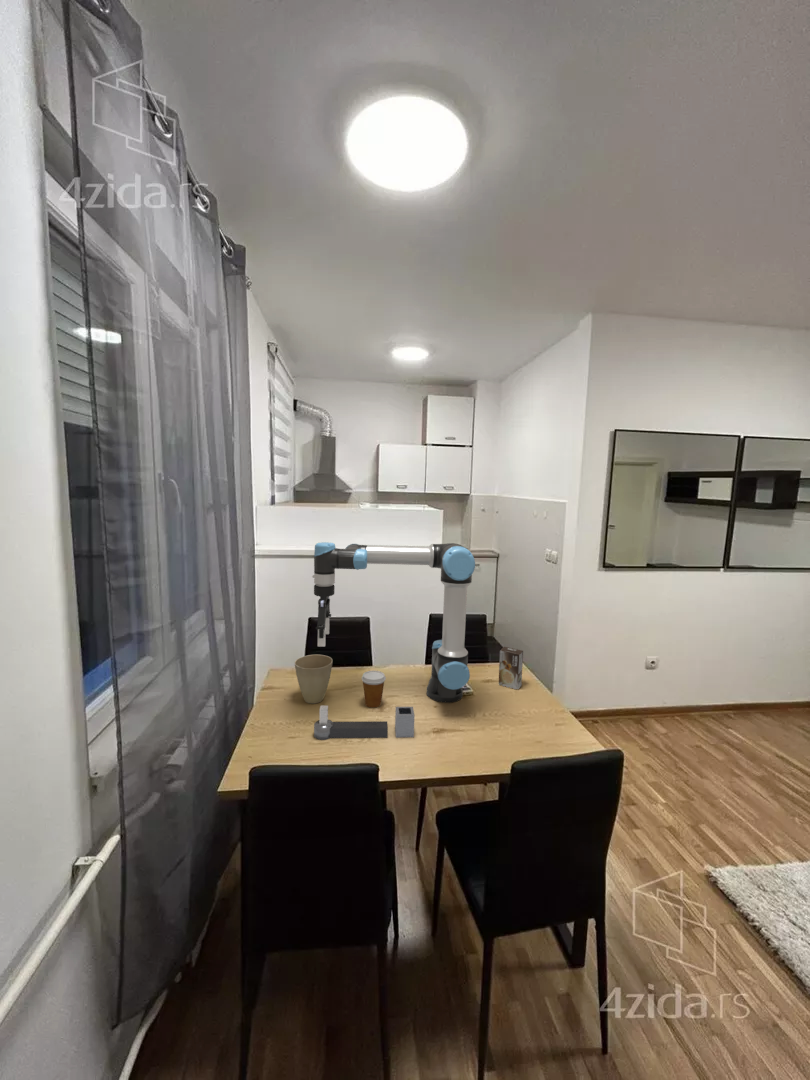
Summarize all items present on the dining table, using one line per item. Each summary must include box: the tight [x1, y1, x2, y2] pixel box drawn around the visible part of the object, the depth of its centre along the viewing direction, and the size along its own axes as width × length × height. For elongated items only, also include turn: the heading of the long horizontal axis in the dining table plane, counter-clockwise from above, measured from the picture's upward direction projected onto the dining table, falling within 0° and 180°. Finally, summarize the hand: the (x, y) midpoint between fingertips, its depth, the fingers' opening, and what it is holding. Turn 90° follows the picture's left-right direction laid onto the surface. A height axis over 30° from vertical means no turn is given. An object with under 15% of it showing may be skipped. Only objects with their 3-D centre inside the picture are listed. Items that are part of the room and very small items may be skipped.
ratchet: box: [313, 705, 389, 741], centre depth 151 cm, size 25×6×10 cm, turn 94°
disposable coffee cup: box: [361, 670, 386, 709], centre depth 173 cm, size 10×10×12 cm
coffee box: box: [497, 646, 524, 690], centre depth 194 cm, size 9×6×16 cm
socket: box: [394, 706, 415, 739], centre depth 153 cm, size 6×6×8 cm
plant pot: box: [294, 654, 333, 704], centre depth 175 cm, size 15×15×16 cm
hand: (323, 639), depth 164 cm, fingers open, 13 cm apart
